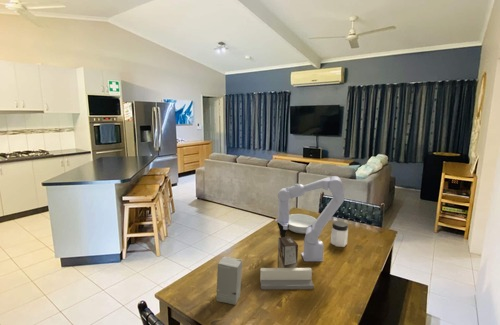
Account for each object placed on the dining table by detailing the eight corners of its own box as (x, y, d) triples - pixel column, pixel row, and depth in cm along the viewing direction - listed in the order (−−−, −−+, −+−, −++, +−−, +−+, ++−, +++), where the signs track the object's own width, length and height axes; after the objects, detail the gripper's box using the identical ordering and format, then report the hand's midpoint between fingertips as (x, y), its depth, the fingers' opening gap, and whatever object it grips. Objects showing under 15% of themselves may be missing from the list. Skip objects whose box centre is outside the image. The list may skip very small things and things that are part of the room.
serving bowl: (278, 231, 167) (278, 221, 166) (292, 221, 184) (293, 211, 183) (309, 240, 155) (310, 229, 154) (322, 228, 172) (323, 218, 171)
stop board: (310, 280, 118) (310, 267, 117) (313, 289, 112) (314, 276, 111) (260, 280, 118) (260, 268, 116) (261, 289, 112) (261, 276, 111)
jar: (327, 241, 155) (329, 221, 153) (338, 238, 158) (340, 219, 156) (338, 248, 147) (340, 227, 145) (350, 245, 150) (351, 225, 148)
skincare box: (216, 301, 104) (215, 264, 101) (222, 290, 111) (222, 254, 108) (236, 306, 102) (236, 267, 99) (242, 294, 109) (242, 258, 106)
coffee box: (297, 278, 119) (298, 245, 117) (283, 280, 118) (285, 246, 115) (289, 267, 128) (290, 235, 125) (276, 268, 127) (277, 237, 124)
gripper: (274, 206, 143) (273, 230, 146) (277, 217, 129) (276, 243, 132) (287, 207, 144) (286, 230, 146) (292, 217, 129) (291, 243, 132)
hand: (282, 236), depth 139 cm, fingers closed
